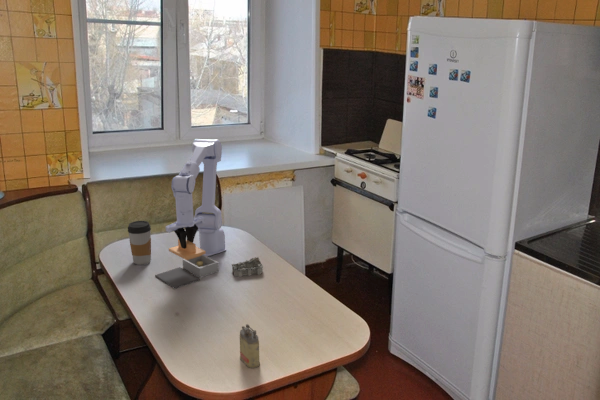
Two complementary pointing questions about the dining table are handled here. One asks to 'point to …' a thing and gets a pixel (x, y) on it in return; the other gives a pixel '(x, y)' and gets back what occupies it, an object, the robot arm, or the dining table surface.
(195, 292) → the dining table surface
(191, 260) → the parts tub
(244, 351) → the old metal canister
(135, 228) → the coffee cup
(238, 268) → the grey rock
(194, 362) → the dining table surface
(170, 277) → the mat
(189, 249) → the lid
